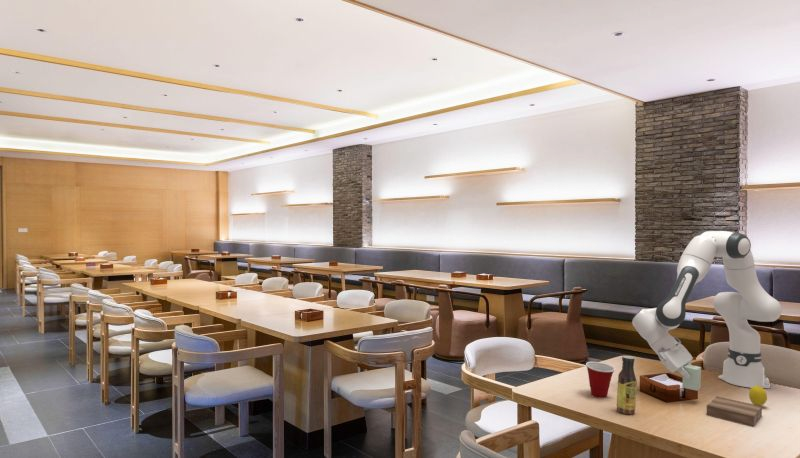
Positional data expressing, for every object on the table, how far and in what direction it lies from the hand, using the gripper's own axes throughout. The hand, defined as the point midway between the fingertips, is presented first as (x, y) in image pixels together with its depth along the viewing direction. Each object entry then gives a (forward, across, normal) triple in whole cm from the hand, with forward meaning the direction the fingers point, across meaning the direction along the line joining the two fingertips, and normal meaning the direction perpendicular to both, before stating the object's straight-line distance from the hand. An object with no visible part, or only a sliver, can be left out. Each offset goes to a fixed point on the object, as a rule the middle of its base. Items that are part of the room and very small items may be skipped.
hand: (692, 376), depth 194 cm
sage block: (+3, 0, +3) cm, 4 cm away
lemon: (+21, +14, -6) cm, 25 cm away
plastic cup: (-12, -20, +26) cm, 35 cm away
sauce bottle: (-2, -30, +16) cm, 35 cm away
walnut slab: (+18, -4, -3) cm, 19 cm away
